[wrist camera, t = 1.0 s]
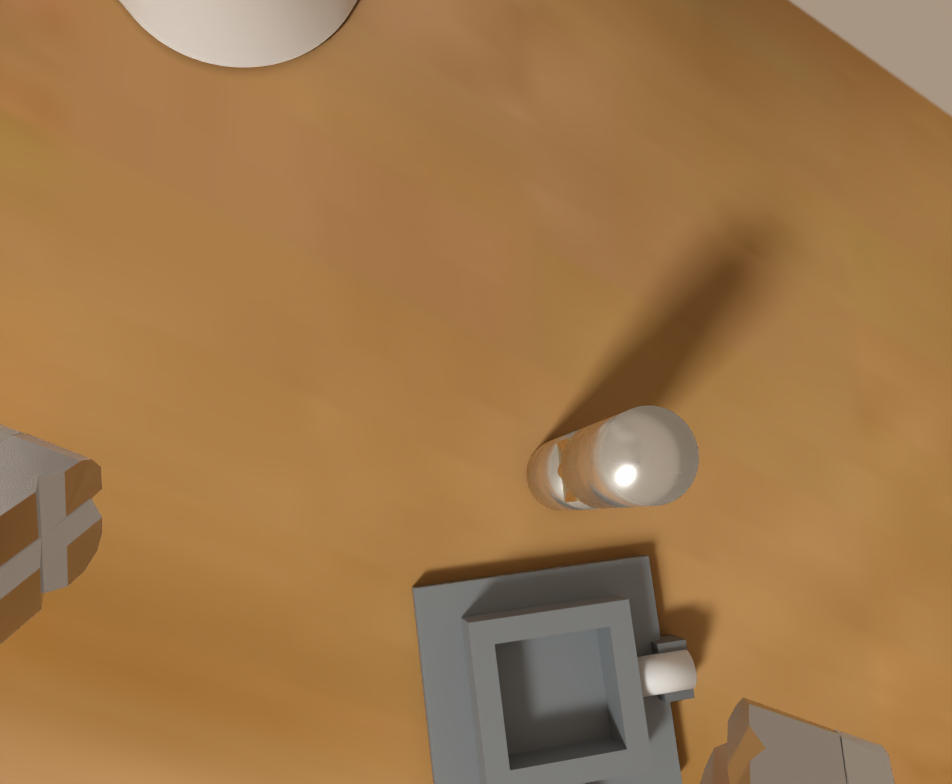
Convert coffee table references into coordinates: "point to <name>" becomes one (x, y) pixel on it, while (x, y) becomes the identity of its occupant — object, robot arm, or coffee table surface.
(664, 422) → the coupler
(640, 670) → the shaft housing
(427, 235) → the coffee table surface
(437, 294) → the coffee table surface
